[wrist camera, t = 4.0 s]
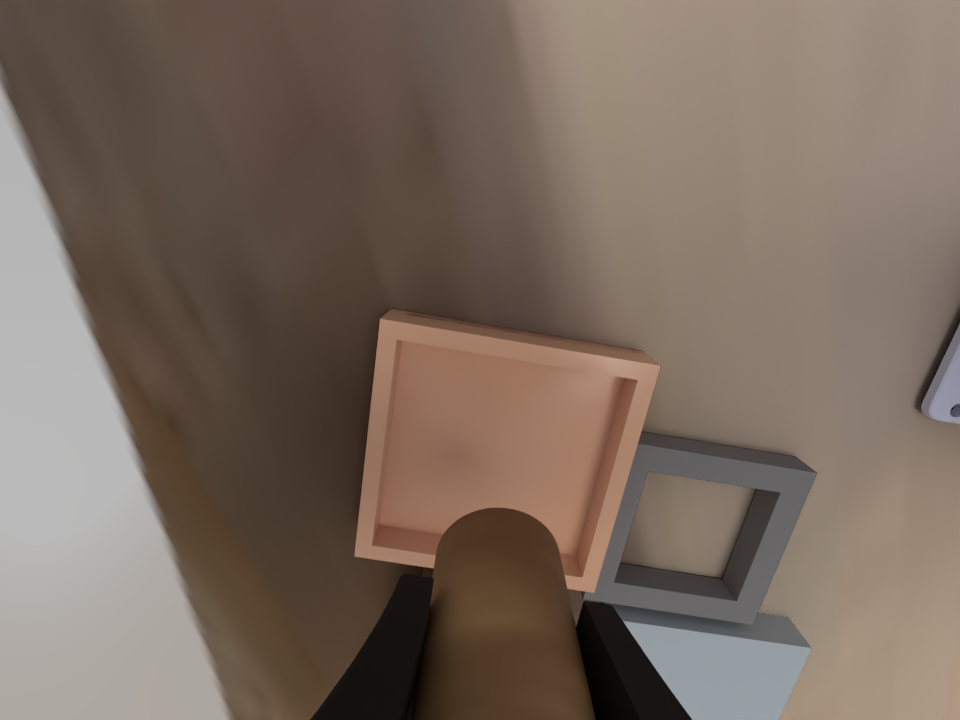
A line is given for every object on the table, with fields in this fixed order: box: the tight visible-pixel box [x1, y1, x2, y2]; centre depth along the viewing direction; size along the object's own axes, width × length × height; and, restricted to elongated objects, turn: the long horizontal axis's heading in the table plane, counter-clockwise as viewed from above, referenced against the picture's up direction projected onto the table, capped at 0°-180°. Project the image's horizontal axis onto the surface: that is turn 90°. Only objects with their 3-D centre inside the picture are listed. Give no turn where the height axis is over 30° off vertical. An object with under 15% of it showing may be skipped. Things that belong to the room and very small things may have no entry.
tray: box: [355, 309, 660, 593], centre depth 17 cm, size 9×9×2 cm
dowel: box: [410, 508, 596, 720], centre depth 9 cm, size 3×3×7 cm
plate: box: [604, 602, 812, 720], centre depth 21 cm, size 8×8×2 cm
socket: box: [581, 432, 817, 625], centre depth 18 cm, size 7×7×1 cm
